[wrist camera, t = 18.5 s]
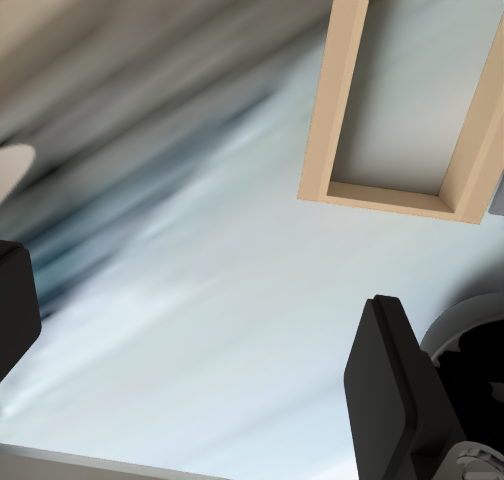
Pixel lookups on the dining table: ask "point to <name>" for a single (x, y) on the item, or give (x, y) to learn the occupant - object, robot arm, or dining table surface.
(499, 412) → the coal bowl
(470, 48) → the dining table surface
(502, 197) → the mat
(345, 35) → the wooden frame
